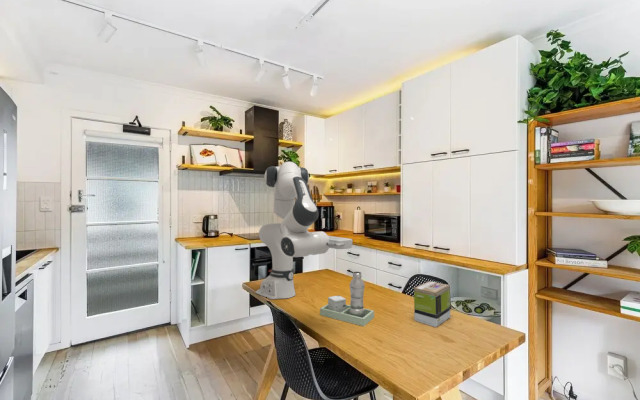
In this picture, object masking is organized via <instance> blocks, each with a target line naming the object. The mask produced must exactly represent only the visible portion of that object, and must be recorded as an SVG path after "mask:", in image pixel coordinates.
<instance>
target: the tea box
mask: <svg viewBox="0 0 640 400" xmlns="http://www.w3.org/2000/svg"><path fill="white" fill-rule="evenodd" d="M413 288H414V289H413V297H414V298H413V303H414V305H413V306H414V307H413V308H414V310H413V311H414V312H413V313H414V314H413V315H414V321H415V322H418V323H421V324H423V325H427V326H429V327H430V326H431V327H434V328H437V327H438V326H440V325H441V324H442V323H444V322H446V321H447V320H448V319H450V318H451V284H447V283H446V284H445V283H440V282H436V281H430V280H429V281H427V282H424V283H421V284H419V285H418V286H416V287H413Z"/></svg>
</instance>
